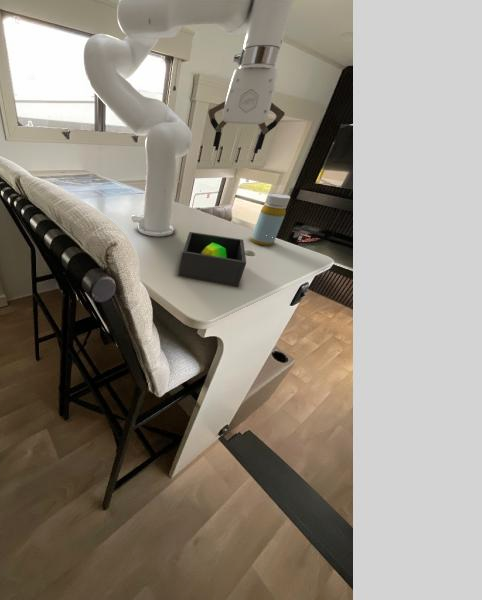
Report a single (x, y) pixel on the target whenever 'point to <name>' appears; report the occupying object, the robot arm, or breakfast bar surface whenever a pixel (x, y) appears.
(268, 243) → the bottle
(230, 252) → the bin
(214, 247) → the apple
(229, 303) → the breakfast bar surface
